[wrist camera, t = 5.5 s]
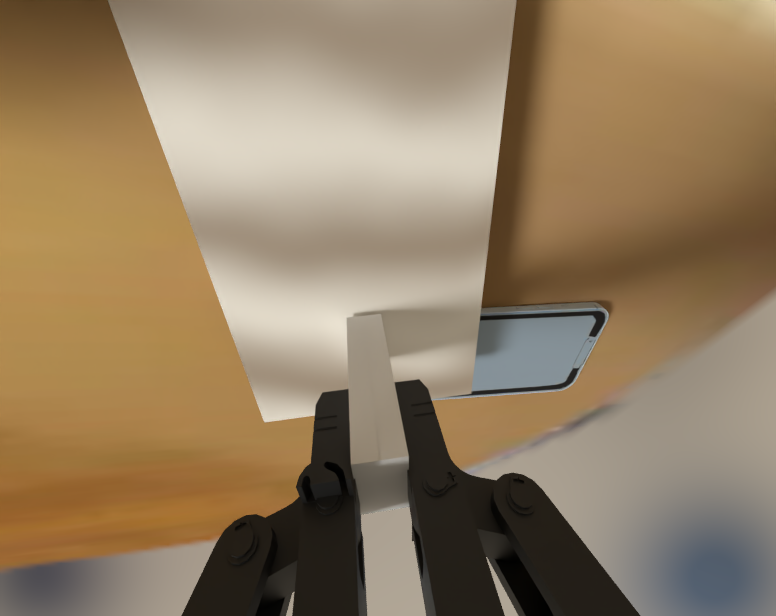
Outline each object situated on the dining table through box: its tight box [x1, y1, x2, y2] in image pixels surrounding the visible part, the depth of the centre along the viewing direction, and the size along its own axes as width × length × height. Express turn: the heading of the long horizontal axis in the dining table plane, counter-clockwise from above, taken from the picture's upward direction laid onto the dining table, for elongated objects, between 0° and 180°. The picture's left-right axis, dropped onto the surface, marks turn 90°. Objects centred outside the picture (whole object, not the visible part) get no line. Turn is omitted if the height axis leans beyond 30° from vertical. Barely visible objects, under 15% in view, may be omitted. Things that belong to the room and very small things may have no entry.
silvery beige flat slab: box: [108, 0, 516, 422], centre depth 12 cm, size 19×11×2 cm, turn 2°
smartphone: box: [431, 302, 609, 400], centre depth 20 cm, size 7×1×15 cm
